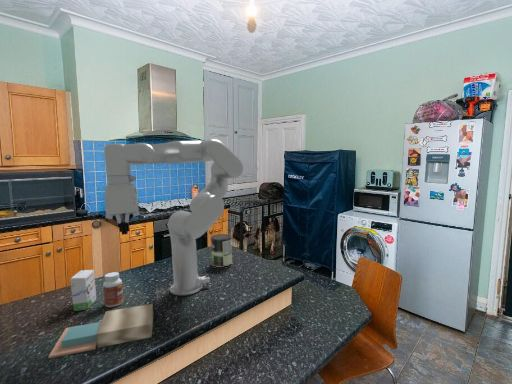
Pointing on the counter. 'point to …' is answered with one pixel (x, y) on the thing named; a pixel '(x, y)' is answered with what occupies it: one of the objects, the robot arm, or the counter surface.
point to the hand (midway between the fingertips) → (124, 233)
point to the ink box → (83, 289)
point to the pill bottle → (113, 290)
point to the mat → (61, 351)
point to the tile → (81, 335)
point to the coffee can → (221, 250)
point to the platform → (125, 325)
